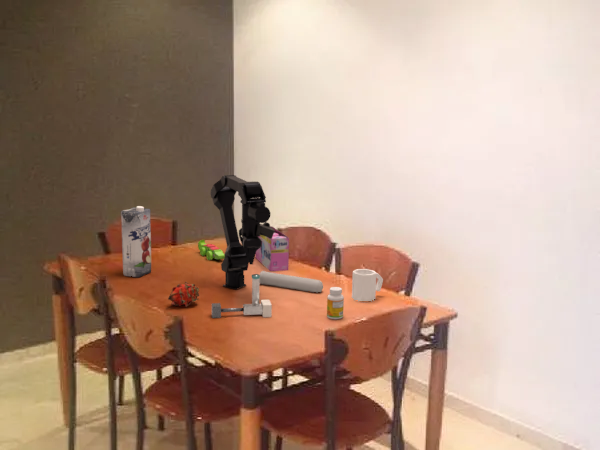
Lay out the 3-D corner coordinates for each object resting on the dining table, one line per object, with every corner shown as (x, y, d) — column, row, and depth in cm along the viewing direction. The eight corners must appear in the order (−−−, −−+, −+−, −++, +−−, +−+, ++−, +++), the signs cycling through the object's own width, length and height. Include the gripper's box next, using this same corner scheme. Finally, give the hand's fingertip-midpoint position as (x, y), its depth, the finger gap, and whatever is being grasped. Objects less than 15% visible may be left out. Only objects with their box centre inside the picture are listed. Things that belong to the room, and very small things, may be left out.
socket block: (263, 317, 243) (263, 305, 243) (260, 311, 249) (260, 299, 248) (271, 317, 244) (271, 305, 243) (269, 311, 250) (269, 299, 249)
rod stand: (212, 318, 242) (212, 306, 241) (211, 314, 245) (211, 303, 244) (250, 316, 244) (250, 305, 243) (248, 313, 247) (248, 302, 246)
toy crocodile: (228, 262, 312) (228, 247, 311) (213, 263, 309) (213, 249, 308) (209, 251, 329) (209, 238, 328) (195, 253, 326) (195, 239, 324)
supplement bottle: (325, 314, 248) (326, 286, 246) (341, 314, 248) (342, 286, 246) (327, 319, 243) (328, 291, 241) (344, 319, 243) (345, 290, 241)
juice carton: (119, 276, 287) (117, 207, 282) (135, 269, 297) (133, 203, 291) (139, 278, 284) (137, 209, 278) (154, 272, 294) (153, 204, 288)
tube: (326, 280, 274) (266, 271, 284) (321, 279, 269) (259, 269, 279) (324, 295, 273) (263, 285, 283) (318, 294, 268) (257, 284, 279)
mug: (361, 303, 260) (362, 276, 258) (346, 296, 267) (347, 270, 265) (388, 298, 266) (389, 272, 264) (373, 292, 273) (374, 266, 271)
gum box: (253, 257, 320) (254, 226, 318) (271, 256, 323) (271, 225, 320) (270, 271, 298) (270, 238, 296) (289, 270, 301) (289, 237, 298)
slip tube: (243, 315, 244) (244, 276, 241) (243, 312, 246) (243, 274, 244) (268, 314, 245) (268, 276, 242) (267, 311, 248) (267, 273, 245)
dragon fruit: (202, 306, 258) (171, 317, 251) (190, 288, 262) (160, 299, 255) (207, 292, 252) (175, 303, 245) (195, 273, 256) (163, 283, 249)
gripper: (276, 222, 252) (276, 267, 255) (269, 212, 270) (268, 254, 273) (244, 223, 250) (243, 268, 253) (238, 212, 268) (238, 254, 271)
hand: (249, 260), depth 263 cm, fingers open, 9 cm apart
